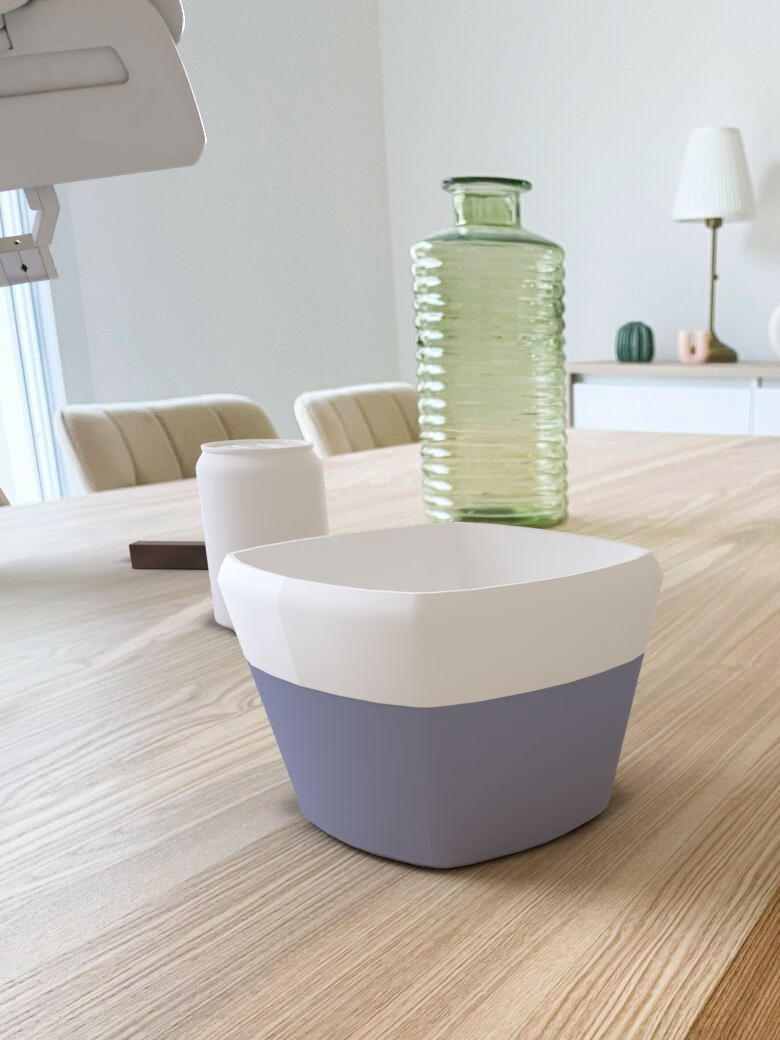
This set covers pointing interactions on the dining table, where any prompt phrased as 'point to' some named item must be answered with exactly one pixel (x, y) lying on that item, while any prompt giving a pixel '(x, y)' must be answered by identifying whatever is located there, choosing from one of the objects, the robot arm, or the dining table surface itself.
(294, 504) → the beverage can
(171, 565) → the walnut stick
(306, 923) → the dining table surface
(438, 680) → the bowl
